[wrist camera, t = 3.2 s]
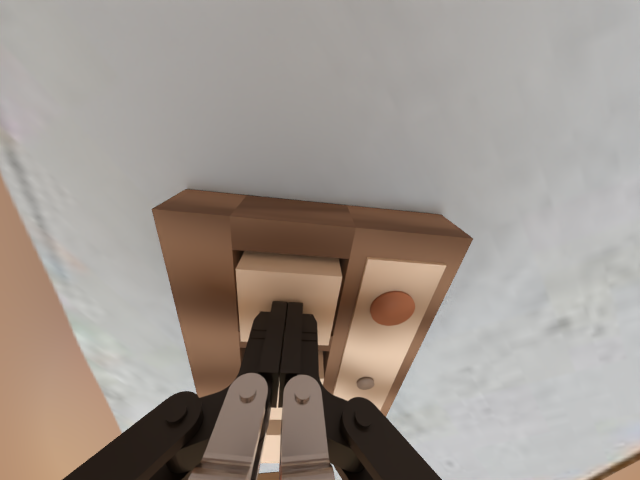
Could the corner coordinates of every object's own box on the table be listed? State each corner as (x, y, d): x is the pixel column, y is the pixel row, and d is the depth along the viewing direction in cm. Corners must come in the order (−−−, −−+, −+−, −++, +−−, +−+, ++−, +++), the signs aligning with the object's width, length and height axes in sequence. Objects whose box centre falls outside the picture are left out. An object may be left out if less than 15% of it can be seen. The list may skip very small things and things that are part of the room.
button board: (185, 189, 12) (145, 212, 9) (441, 214, 14) (478, 242, 11) (222, 412, 23) (209, 456, 20) (362, 415, 24) (369, 456, 21)
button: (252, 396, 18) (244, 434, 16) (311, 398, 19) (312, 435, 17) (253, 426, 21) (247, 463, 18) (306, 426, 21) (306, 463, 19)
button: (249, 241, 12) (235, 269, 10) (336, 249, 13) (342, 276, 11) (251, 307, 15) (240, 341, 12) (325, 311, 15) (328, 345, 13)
